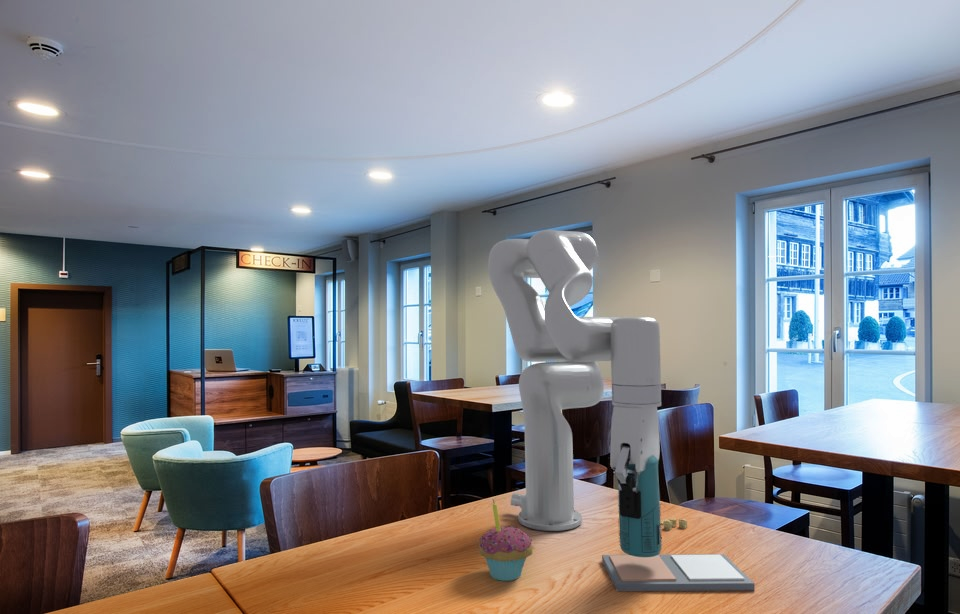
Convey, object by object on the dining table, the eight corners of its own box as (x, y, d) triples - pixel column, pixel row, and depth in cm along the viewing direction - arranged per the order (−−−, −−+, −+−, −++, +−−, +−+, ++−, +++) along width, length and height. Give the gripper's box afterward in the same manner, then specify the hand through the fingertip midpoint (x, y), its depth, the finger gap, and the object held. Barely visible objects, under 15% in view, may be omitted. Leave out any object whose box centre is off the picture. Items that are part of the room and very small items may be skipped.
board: (616, 591, 85) (616, 582, 85) (602, 561, 96) (602, 553, 96) (754, 590, 84) (754, 581, 84) (724, 560, 95) (723, 552, 95)
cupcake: (494, 590, 85) (493, 508, 86) (469, 570, 93) (468, 494, 93) (543, 578, 89) (542, 500, 90) (515, 559, 97) (514, 487, 97)
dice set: (688, 530, 111) (688, 520, 111) (668, 535, 109) (668, 524, 109) (669, 523, 116) (669, 513, 116) (650, 527, 114) (649, 517, 114)
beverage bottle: (664, 569, 87) (661, 434, 87) (619, 566, 88) (616, 433, 89) (660, 552, 93) (657, 427, 94) (617, 549, 94) (615, 426, 95)
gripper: (632, 389, 101) (634, 493, 100) (591, 400, 86) (593, 522, 86) (676, 391, 96) (679, 500, 96) (640, 403, 82) (643, 531, 81)
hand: (638, 509), depth 91 cm, fingers closed on beverage bottle, 6 cm apart
